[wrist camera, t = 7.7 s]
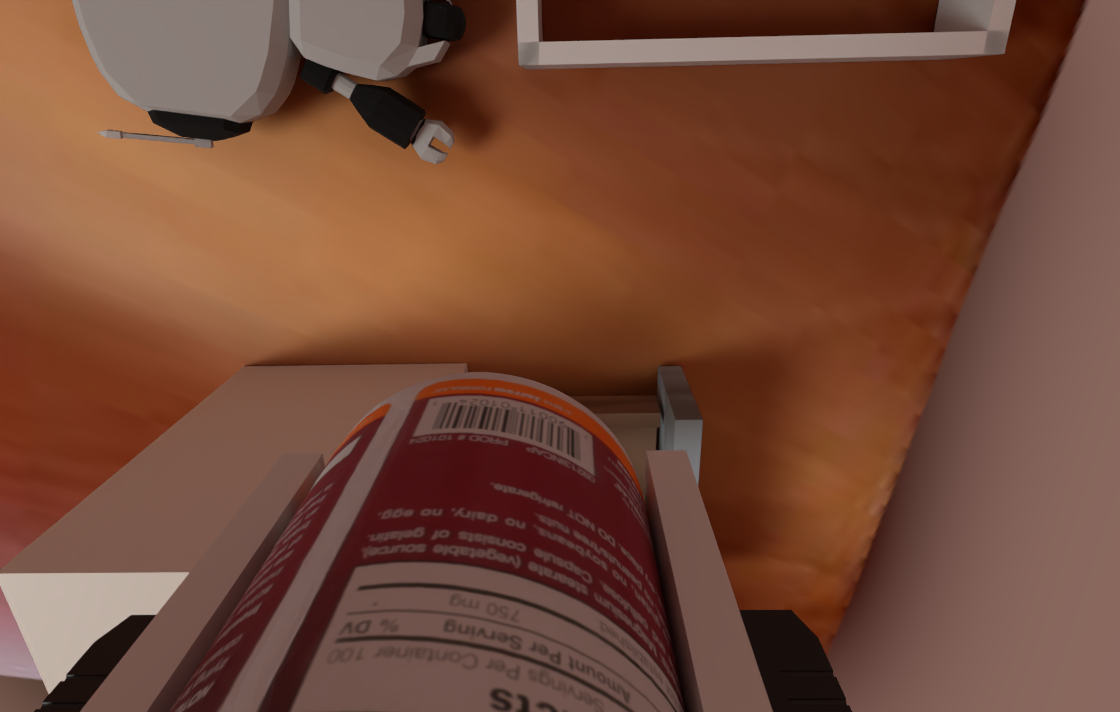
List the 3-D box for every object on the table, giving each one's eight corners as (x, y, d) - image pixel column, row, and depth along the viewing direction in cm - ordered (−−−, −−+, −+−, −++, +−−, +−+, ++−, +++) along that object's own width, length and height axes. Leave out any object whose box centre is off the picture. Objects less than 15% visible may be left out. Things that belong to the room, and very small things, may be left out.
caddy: (244, 366, 34) (-6, 573, 19) (467, 363, 34) (387, 570, 19) (291, 573, 39) (124, 861, 25) (484, 572, 39) (432, 862, 24)
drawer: (457, 369, 34) (434, 422, 28) (680, 366, 33) (703, 419, 28) (475, 573, 39) (459, 653, 33) (669, 572, 39) (686, 652, 33)
